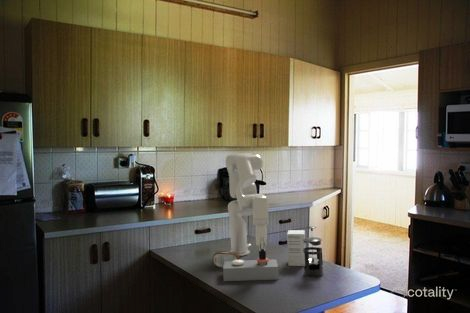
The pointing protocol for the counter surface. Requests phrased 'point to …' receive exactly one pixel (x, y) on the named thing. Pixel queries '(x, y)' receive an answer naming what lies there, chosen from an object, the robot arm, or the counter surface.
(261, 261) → the red button
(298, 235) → the supplement box
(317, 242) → the french press
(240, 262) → the white button
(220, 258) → the tin
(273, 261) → the console
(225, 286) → the counter surface
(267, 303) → the counter surface
